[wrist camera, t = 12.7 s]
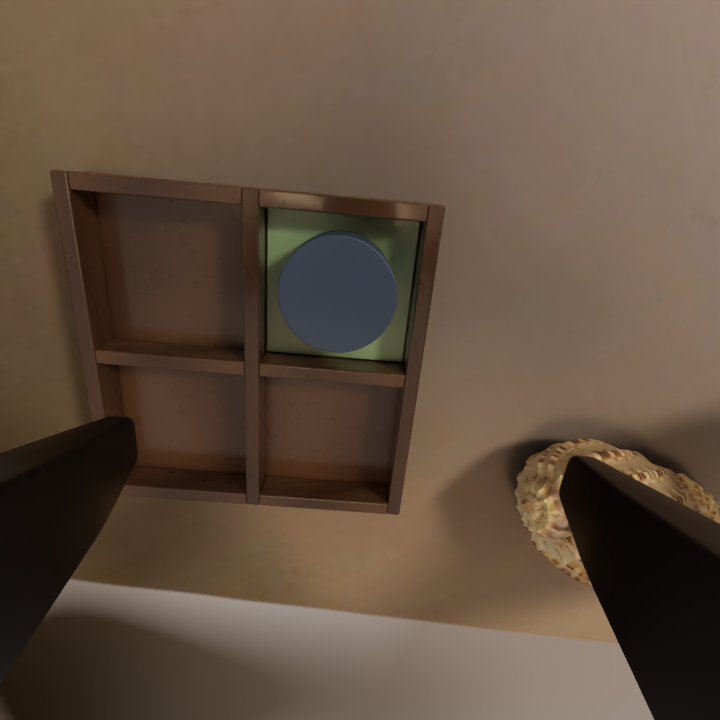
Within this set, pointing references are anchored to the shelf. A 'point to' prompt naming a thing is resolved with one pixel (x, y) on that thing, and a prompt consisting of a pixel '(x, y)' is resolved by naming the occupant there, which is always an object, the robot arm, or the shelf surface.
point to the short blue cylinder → (337, 292)
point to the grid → (241, 340)
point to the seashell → (546, 510)
